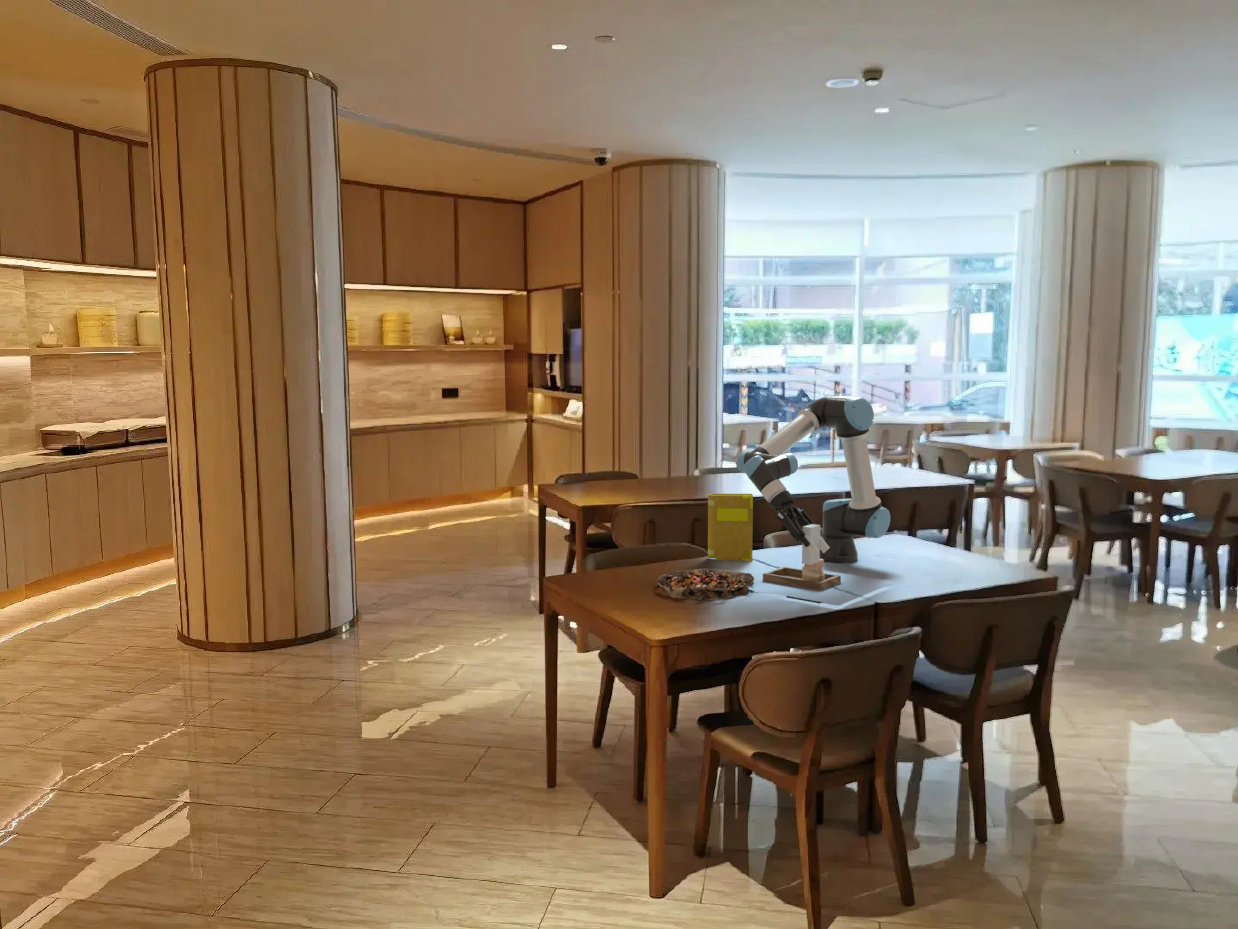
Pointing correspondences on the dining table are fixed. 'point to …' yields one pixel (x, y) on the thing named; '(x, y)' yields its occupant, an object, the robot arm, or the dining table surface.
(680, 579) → the food dish
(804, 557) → the white rectangular block
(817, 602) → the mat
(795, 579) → the wooden tray
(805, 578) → the offcut
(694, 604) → the dining table surface
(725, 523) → the book
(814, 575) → the offcut
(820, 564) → the offcut
